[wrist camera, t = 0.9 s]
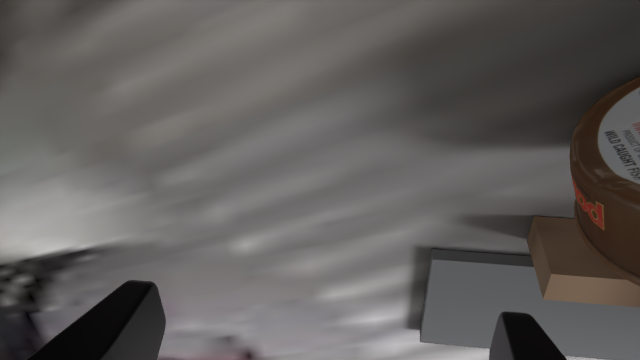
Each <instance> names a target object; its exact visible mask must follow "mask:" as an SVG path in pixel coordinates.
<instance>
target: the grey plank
mask: <svg viewBox="0 0 640 360" xmlns="http://www.w3.org/2000/svg"><path fill="white" fill-rule="evenodd" d="M504 311H508V312H520V313H528V314H530V315H531V316H532V317H533V318H534V319H535V320H536V321H537V322H538V324H539V325H540V326H541V327H542V329H543V330H544V331H545V333H546V334H547V335H548V336H549V338H550V339H551V340H552V341H553V343H554V344H555V345H556V346H557V348H558V349H559V350H560V352H561V353H562V354H563V355H564V356H575V357H586V358H596V359H607V360H640V307H628V306H616V305H604V304H592V303H579V302H567V301H555V300H543V297H542V294H541V290H540V287H539V283H538V279H537V276H536V272H535V268H534V265H533V261H532V257H531V256H519V255H505V254H492V253H478V252H465V251H452V250H438V249H432V251H431V258H430V265H429V272H428V279H427V285H426V292H425V299H424V306H423V313H422V320H421V327H420V342H424V343H434V344H445V345H456V346H467V347H478V348H488V349H490V346H491V342H492V339H493V335H494V331H495V327H496V323H497V319H498V316H499V315H500V313H501V312H504Z"/></svg>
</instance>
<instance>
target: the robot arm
mask: <svg viewBox="0 0 640 360" xmlns="http://www.w3.org/2000/svg"><path fill="white" fill-rule="evenodd" d="M165 323H166V321H165V314H164V310H163V306H162V303H161V299H160V295H159V291H158V288H157V286H156V284H155V283H153V282H150V281H138V280H130V281H127V282H125V283H123V284H122V285H121V286H120V287H118V288H117V289H116V290H114V291H113V292H112V293H111V294H109V295H108V296H107V297H105V298H104V299H103V300H102V301H100V302H99V303H98V304H96V305H95V306H94V307H93V308H91V309H90V310H89V311H87V312H86V313H85V314H84V315H82V316H81V317H80V318H79V319H77V320H76V321H75V322H73V323H72V324H71V325H70V326H68V327H67V328H66V329H64V330H63V331H62V332H61V333H59V334H58V335H57V336H55V337H54V338H53V339H52V340H50V341H49V342H48V343H46V344H45V345H44V346H43V347H41V348H40V349H39V350H37V351H36V352H35V353H34V354H32V355H31V356H30V357H28V358H27V359H26V360H157V357H158V353H159V350H160V346H161V342H162V339H163V335H164V331H165ZM489 360H567V359H566V358H565V357H564V355H563V354H562V353H561V352H560V350H559V349H558V348H557V346H556V345H555V344H554V343H553V341H552V340H551V339H550V338H549V336H548V335H547V334H546V333H545V331H544V330H543V329H542V327H541V326H540V325H539V324H538V322H537V321H536V320H535V319H534V318H533V317H532V316H531V315H530V314H528V313H520V312H508V311H504V312H501V313H500V315H499V316H498V319H497V323H496V327H495V331H494V335H493V339H492V342H491V346H490V355H489Z"/></svg>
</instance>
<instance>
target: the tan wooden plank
mask: <svg viewBox="0 0 640 360" xmlns="http://www.w3.org/2000/svg"><path fill="white" fill-rule="evenodd" d="M527 243H528V246H529V250H530V254H531V257H532V261H533V265H534V268H535V272H536V276H537V279H538V283H539V287H540V290H541V294H542V297H543V300H555V301H567V302H579V303H592V304H604V305H616V306H628V307H640V287H639V286H637V285H635V284H634V283H632V282H630V281H628V280H627V279H625V278H624V277H622V276H620V275H619V274H617V273H615V272H614V271H612V270H611V269H610V268H609V267H607V266H606V265H605V264H604V263H602V262H601V261H600V260H599V259H598V258H597V257H596V256H595V255H594V254H593V253H592V251H591V250H590V249H589V248H588V247H587V245H586V244H585V242H584V241H583V239H582V237H581V235H580V233H579V231H578V228H577V225H576V221H575V219H570V218H555V217H540V216H533V220H532V224H531V227H530V231H529V234H528V238H527Z"/></svg>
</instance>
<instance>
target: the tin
mask: <svg viewBox="0 0 640 360" xmlns="http://www.w3.org/2000/svg"><path fill="white" fill-rule="evenodd" d="M570 169H571V175H572V180H573V185H574V189H575V195H576V200H575V206H574V213H575V221H576V225H577V228H578V231H579V233H580V235H581V237H582V239H583V241H584V242H585V244H586V245H587V247H588V248H589V249H590V250H591V251H592V253H593V254H594V255H595V256H596V257H597V258H598V259H599V260H600V261H601V262H602V263H604V264H605V265H606V266H607V267H609V268H610V269H611V270H612V271H614V272H615V273H617V274H619V275H620V276H622V277H624V278H625V279H627V280H628V281H630V282H632V283H634V284H635V285H637V286H639V287H640V77H638V78H635V79H633V80H631V81H629V82H627V83H625V84H623V85H621V86H620V87H618V88H616V89H614V90H612V91H610V92H609V93H608V94H606V95H605V96H603V97H602V98H601V99H599V100H598V101H597V102H596V103H595V104H593V105H592V106H591V107H590V109H589V110H588V111H587V112H586V113H585V114H584V115H583V116H582V118H581V119H580V121H579V122H578V124H577V126H576V127H575V130H574V132H573V135H572V139H571V145H570Z"/></svg>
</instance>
